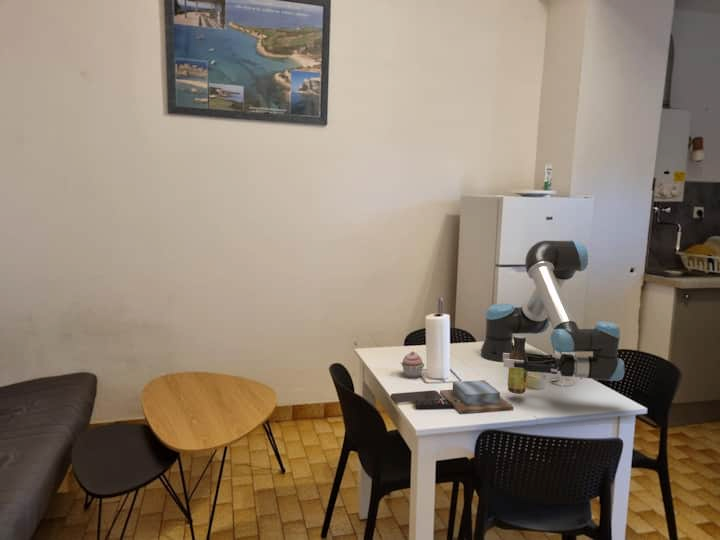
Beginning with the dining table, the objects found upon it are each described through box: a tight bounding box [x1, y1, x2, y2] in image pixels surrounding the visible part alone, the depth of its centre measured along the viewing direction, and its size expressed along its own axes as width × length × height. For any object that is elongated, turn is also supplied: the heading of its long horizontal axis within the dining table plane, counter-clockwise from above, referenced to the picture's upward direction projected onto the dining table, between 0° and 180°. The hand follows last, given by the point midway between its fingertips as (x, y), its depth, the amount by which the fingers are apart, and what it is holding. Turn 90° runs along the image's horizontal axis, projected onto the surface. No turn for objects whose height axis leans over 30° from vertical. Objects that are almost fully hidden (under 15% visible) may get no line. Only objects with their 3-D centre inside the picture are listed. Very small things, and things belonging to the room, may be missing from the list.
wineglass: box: [551, 349, 576, 387], centre depth 198 cm, size 8×8×20 cm
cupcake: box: [400, 350, 425, 379], centre depth 203 cm, size 9×9×10 cm
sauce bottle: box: [507, 334, 528, 395], centre depth 180 cm, size 6×6×20 cm
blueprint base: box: [439, 379, 514, 415], centre depth 179 cm, size 19×18×5 cm
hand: (503, 359), depth 181 cm, fingers closed on sauce bottle, 6 cm apart
